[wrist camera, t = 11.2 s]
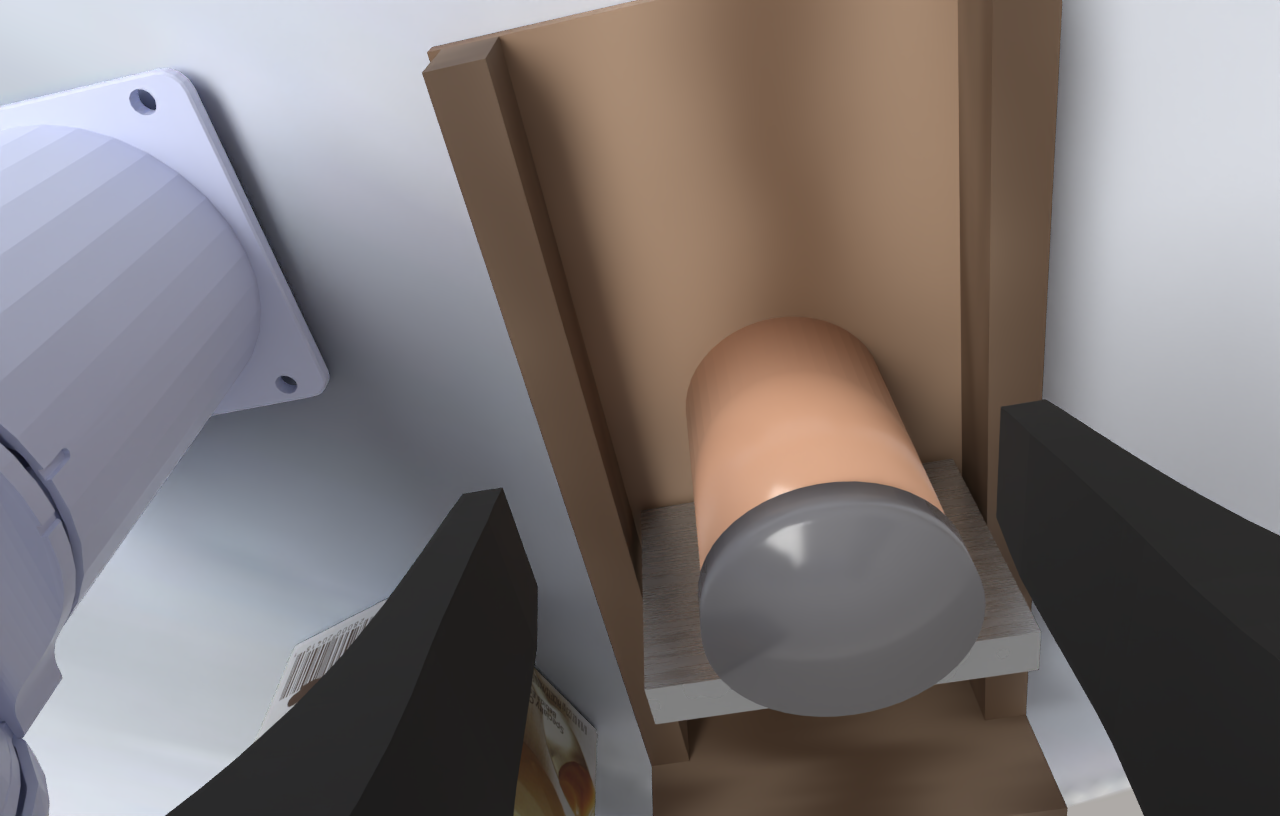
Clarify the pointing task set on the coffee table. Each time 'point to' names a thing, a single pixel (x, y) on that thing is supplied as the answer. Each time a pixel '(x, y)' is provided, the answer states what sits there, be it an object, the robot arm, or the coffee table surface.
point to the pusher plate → (695, 691)
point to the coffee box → (553, 740)
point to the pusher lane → (771, 307)
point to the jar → (819, 528)
